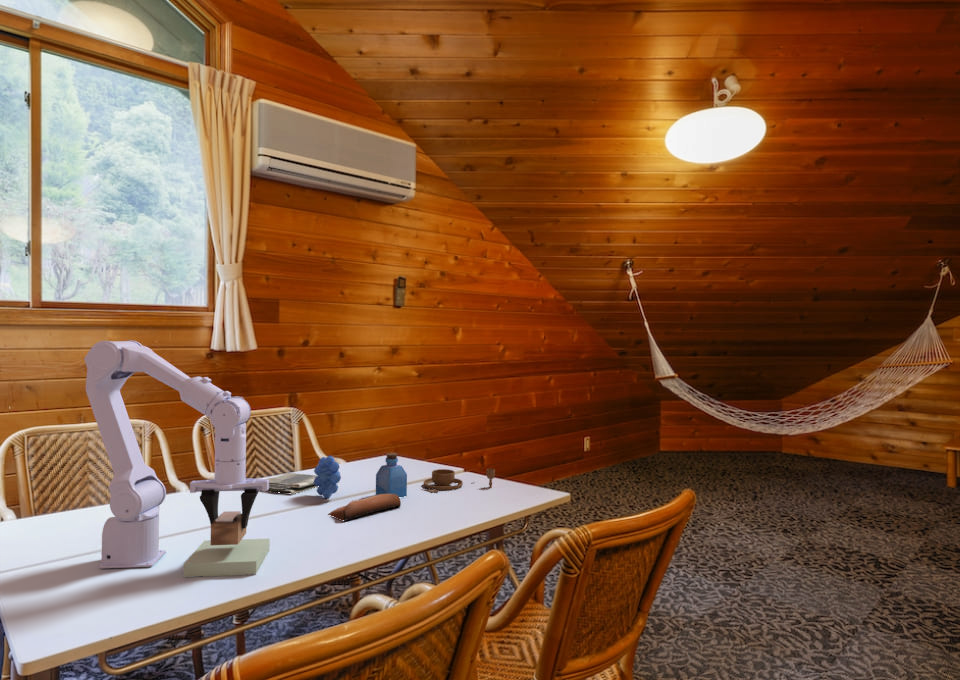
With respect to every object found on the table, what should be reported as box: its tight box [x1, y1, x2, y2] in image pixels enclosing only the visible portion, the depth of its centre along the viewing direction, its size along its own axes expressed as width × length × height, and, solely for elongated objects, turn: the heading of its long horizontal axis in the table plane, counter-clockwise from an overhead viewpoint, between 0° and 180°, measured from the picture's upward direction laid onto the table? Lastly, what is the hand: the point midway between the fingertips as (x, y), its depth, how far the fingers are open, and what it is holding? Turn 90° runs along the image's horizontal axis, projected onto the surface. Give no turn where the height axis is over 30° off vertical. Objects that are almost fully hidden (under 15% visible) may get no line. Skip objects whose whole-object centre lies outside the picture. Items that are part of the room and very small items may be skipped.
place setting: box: [420, 468, 496, 493], centre depth 185 cm, size 18×20×6 cm
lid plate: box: [216, 510, 242, 523], centre depth 121 cm, size 3×5×2 cm, turn 6°
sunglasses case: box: [327, 494, 402, 522], centre depth 158 cm, size 18×7×7 cm
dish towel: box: [266, 472, 318, 496], centre depth 184 cm, size 19×18×3 cm
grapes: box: [313, 455, 342, 499], centre depth 171 cm, size 12×7×12 cm, turn 46°
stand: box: [183, 538, 271, 578], centre depth 122 cm, size 13×13×2 cm
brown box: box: [210, 513, 247, 545], centre depth 121 cm, size 5×7×4 cm
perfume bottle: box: [375, 452, 408, 498], centre depth 174 cm, size 6×6×12 cm
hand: (229, 527), depth 122 cm, fingers closed on brown box, 5 cm apart
